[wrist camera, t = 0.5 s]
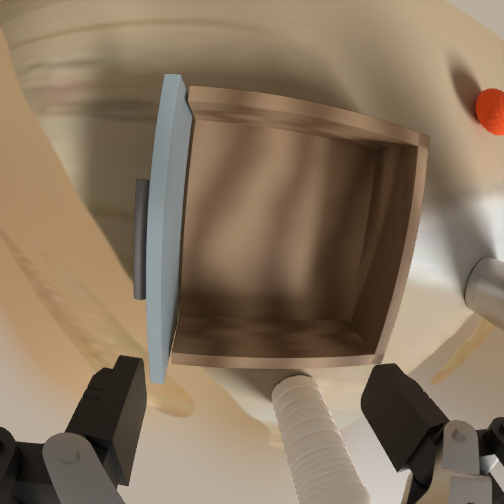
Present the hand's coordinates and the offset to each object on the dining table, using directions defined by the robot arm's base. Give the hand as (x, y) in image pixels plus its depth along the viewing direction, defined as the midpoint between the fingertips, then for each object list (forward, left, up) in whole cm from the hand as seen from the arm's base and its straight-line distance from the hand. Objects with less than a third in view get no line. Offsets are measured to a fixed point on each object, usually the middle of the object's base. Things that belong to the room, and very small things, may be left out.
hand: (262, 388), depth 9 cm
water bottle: (-10, +21, -23) cm, 33 cm away
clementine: (-34, -23, -23) cm, 47 cm away
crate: (-5, -2, -22) cm, 23 cm away
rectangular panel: (+6, -2, -21) cm, 22 cm away
